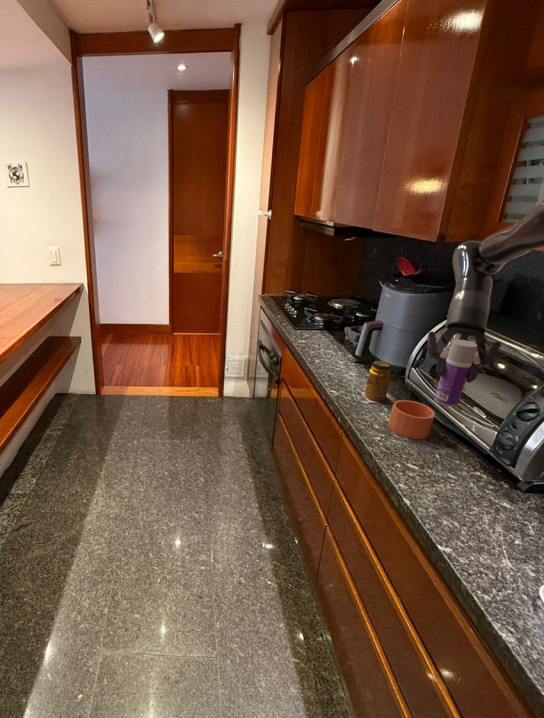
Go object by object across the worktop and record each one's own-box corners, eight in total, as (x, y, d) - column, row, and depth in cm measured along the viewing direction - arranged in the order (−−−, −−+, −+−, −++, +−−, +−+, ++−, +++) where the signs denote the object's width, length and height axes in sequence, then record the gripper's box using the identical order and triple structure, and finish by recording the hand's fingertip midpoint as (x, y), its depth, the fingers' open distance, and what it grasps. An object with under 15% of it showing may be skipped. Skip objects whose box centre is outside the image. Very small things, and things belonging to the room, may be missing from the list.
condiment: (359, 392, 128) (366, 358, 123) (386, 392, 127) (394, 359, 122) (368, 403, 121) (376, 368, 116) (396, 404, 120) (405, 369, 116)
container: (461, 408, 89) (481, 348, 83) (437, 405, 90) (456, 345, 84) (453, 398, 93) (473, 340, 87) (431, 395, 94) (449, 338, 88)
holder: (423, 423, 110) (429, 403, 108) (433, 442, 102) (439, 421, 99) (385, 417, 113) (390, 398, 111) (392, 435, 105) (397, 414, 102)
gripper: (434, 301, 92) (420, 364, 88) (512, 310, 85) (501, 380, 81) (429, 316, 99) (415, 376, 94) (501, 326, 91) (489, 392, 87)
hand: (455, 378), depth 87 cm, fingers closed on container, 4 cm apart
